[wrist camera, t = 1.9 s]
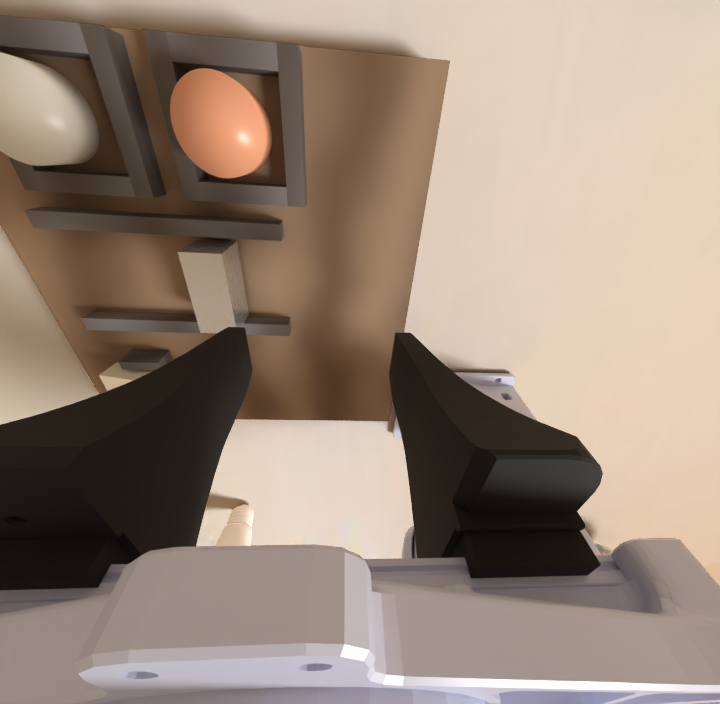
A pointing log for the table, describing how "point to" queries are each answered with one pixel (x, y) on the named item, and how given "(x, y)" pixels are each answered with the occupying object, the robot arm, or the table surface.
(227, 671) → the robot arm
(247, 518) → the lightbulb
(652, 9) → the table surface
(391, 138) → the brown flat wooden tray
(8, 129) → the cream egg shape
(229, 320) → the light grey small block
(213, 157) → the peach egg shape
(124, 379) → the block
